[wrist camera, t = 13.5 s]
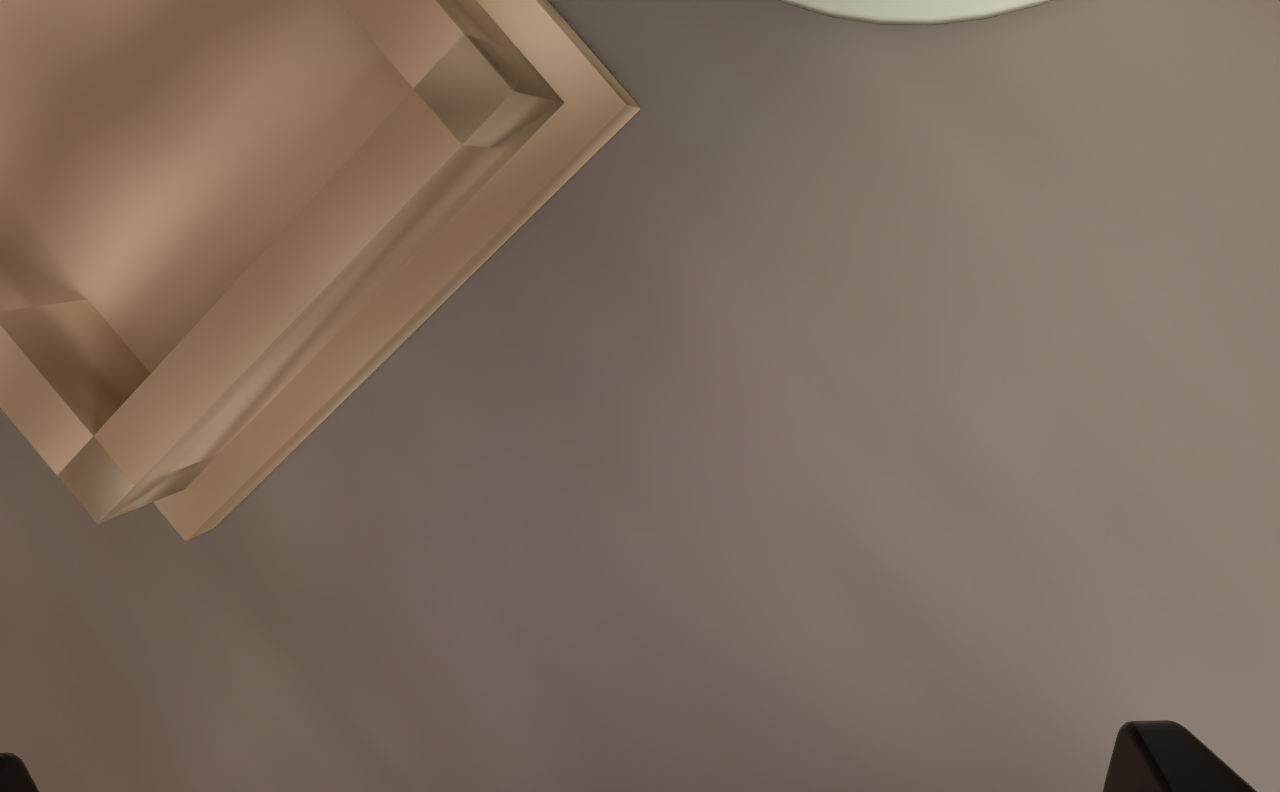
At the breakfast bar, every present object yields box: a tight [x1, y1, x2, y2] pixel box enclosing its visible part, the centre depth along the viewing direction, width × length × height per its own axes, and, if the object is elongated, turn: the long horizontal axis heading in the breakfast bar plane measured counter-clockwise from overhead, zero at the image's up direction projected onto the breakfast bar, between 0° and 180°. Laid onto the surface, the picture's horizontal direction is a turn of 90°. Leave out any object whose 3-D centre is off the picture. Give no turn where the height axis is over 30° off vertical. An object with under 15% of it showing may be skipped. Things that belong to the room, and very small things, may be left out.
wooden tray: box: [0, 0, 641, 541], centre depth 21 cm, size 13×13×4 cm
